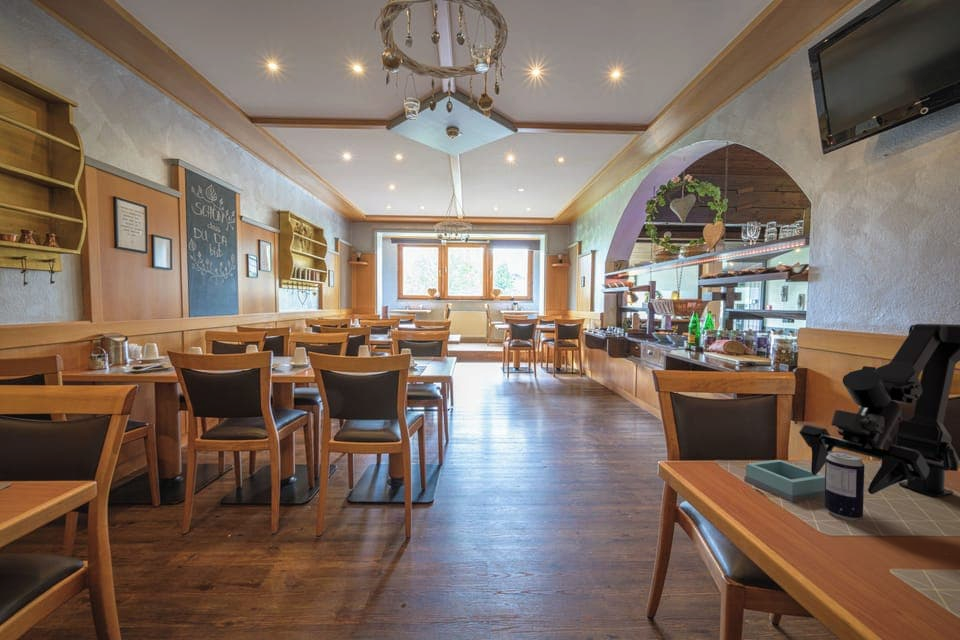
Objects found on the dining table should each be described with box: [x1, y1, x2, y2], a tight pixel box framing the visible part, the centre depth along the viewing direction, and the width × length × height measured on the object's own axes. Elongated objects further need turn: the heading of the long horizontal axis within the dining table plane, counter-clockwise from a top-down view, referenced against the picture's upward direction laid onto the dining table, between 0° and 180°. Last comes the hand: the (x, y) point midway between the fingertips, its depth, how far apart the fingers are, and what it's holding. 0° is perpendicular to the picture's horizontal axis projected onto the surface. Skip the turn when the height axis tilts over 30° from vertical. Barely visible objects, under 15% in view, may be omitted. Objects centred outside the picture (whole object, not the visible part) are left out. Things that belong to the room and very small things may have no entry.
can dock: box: [743, 459, 825, 503], centre depth 90 cm, size 11×11×4 cm
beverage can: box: [823, 450, 865, 521], centre depth 78 cm, size 6×6×12 cm
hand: (839, 482), depth 78 cm, fingers open, 9 cm apart
